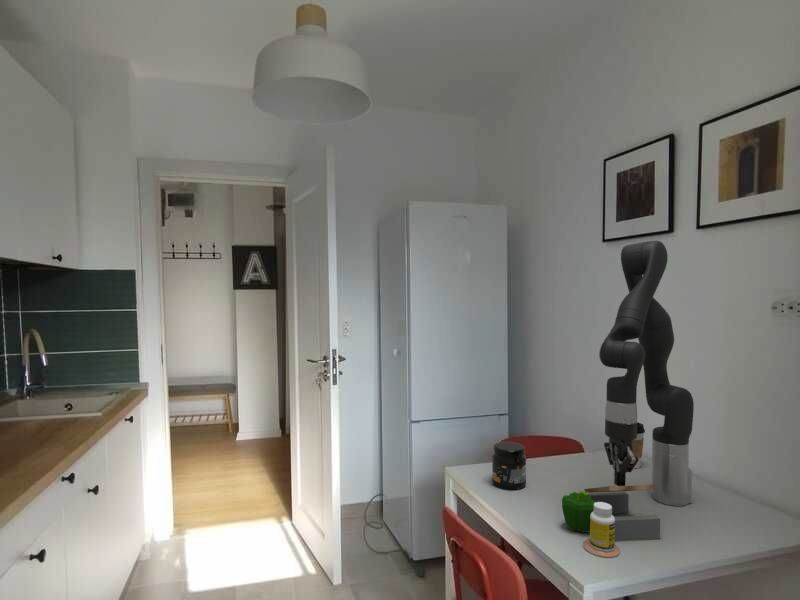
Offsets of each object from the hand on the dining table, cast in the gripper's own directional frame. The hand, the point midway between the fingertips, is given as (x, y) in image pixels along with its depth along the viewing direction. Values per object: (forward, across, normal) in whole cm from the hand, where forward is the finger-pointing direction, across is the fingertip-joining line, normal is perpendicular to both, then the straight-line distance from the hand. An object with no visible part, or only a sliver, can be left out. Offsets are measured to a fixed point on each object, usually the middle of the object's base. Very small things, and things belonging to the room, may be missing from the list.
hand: (619, 485), depth 125 cm
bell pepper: (+11, 0, -11) cm, 15 cm away
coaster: (+11, +10, -10) cm, 18 cm away
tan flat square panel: (+2, -1, 0) cm, 2 cm away
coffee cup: (+10, -41, +27) cm, 50 cm away
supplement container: (+11, -29, -20) cm, 37 cm away
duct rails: (+10, -1, 0) cm, 11 cm away
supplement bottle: (+10, +10, -10) cm, 18 cm away
